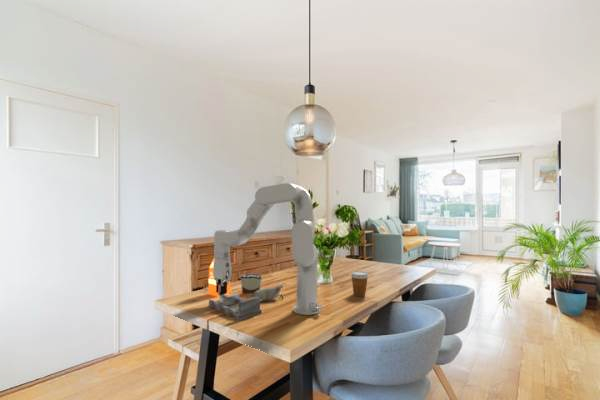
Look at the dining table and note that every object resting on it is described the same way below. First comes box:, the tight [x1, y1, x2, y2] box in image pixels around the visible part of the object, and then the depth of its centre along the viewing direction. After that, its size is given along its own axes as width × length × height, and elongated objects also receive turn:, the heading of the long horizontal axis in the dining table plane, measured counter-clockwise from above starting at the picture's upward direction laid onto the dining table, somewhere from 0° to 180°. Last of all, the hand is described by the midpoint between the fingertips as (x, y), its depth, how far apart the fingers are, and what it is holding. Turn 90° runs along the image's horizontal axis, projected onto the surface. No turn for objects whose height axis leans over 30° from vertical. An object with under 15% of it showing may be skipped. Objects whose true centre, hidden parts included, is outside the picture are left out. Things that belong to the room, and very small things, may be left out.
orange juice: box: [208, 258, 231, 298], centre depth 167 cm, size 8×9×20 cm
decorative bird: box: [252, 284, 285, 301], centre depth 156 cm, size 5×16×8 cm, turn 111°
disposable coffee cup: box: [350, 270, 369, 297], centre depth 167 cm, size 10×10×12 cm
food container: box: [239, 273, 263, 295], centre depth 170 cm, size 12×6×10 cm, turn 84°
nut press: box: [208, 296, 263, 321], centre depth 142 cm, size 25×12×8 cm, turn 47°
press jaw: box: [218, 284, 240, 306], centre depth 147 cm, size 10×9×8 cm
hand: (221, 292), depth 149 cm, fingers closed on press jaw, 3 cm apart
